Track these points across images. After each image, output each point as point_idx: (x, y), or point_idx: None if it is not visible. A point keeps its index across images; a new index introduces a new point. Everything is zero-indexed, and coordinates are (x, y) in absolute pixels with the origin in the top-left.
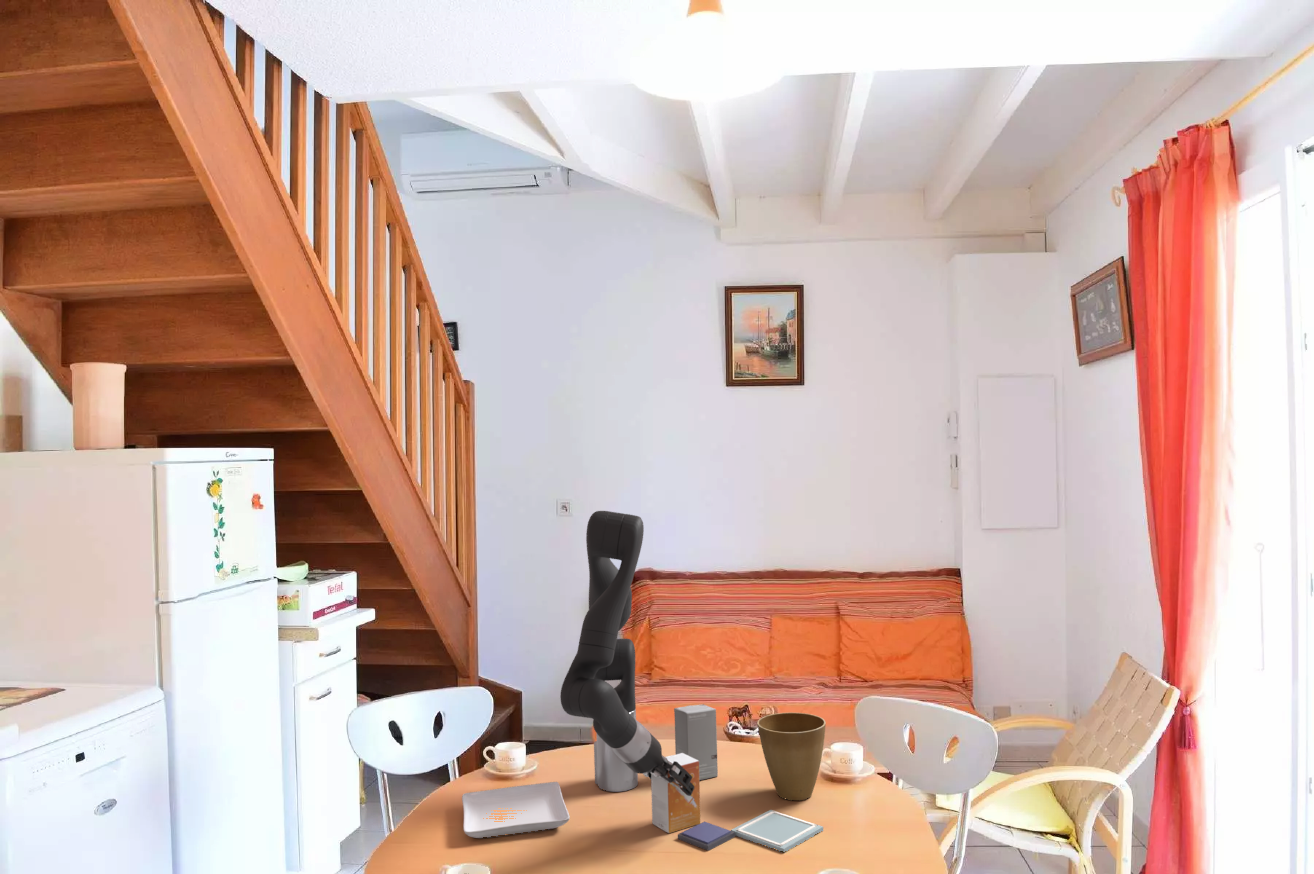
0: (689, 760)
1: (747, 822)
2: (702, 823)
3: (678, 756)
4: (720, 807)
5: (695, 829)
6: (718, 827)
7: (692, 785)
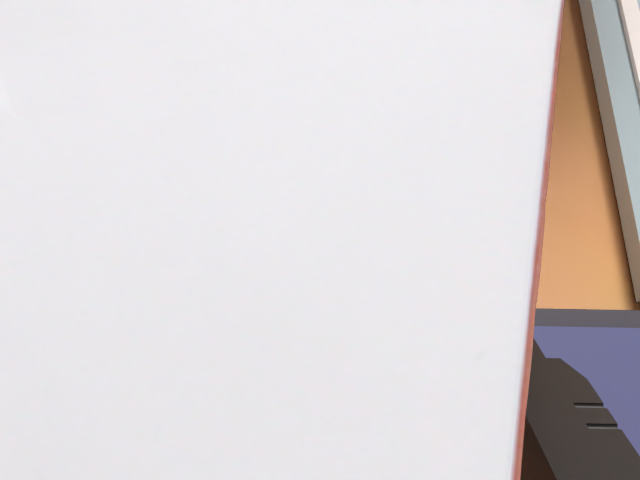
0: (423, 83)
1: (630, 153)
2: None
3: (69, 50)
4: None
5: None
6: (598, 337)
7: (604, 410)
